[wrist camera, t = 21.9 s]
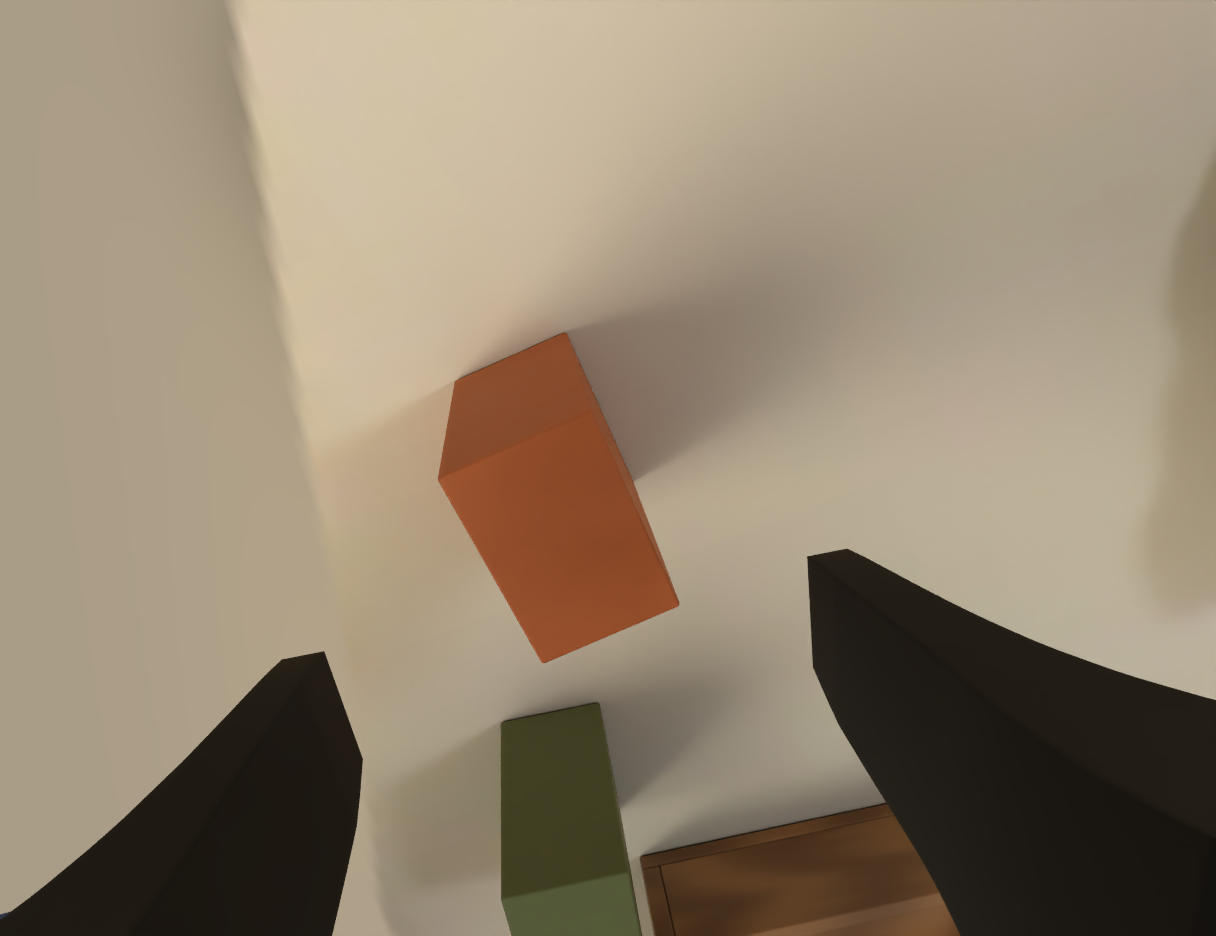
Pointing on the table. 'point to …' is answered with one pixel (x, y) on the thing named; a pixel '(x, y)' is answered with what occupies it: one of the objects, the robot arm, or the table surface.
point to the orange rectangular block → (551, 501)
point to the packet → (563, 829)
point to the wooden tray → (799, 883)
